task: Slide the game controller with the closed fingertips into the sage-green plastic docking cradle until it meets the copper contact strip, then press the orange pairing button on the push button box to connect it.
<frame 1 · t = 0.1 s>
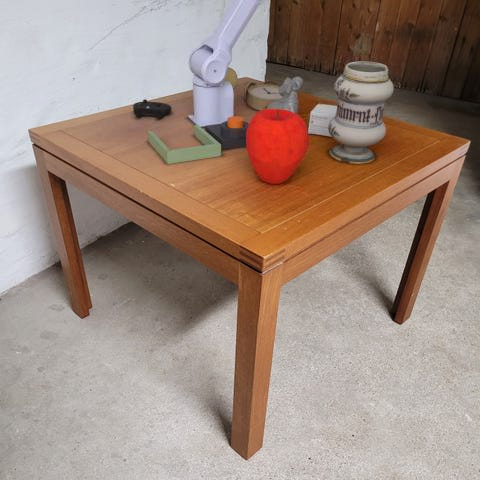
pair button: (235, 122, 113), point 4 cm above the table, slide at 0.1 cm
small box: (326, 132, 123), on the table
apothecary jar: (352, 156, 111), on the table
alarm clock: (265, 104, 139), on the table
game controller: (151, 116, 129), on the table
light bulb: (225, 108, 135), on the table
push button box: (231, 139, 117), on the table
figurine: (280, 124, 126), on the table
dock: (183, 148, 112), on the table
apple: (274, 180, 101), on the table
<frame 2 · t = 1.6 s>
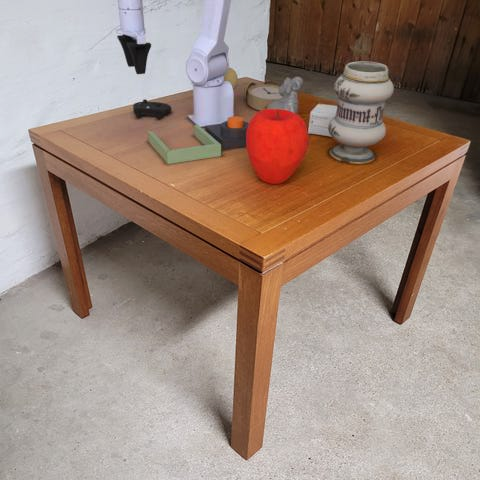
hand: (136, 70, 130), 9 cm above the table, tool pointing down, fingers open, 7 cm apart
nothing on the table moved.
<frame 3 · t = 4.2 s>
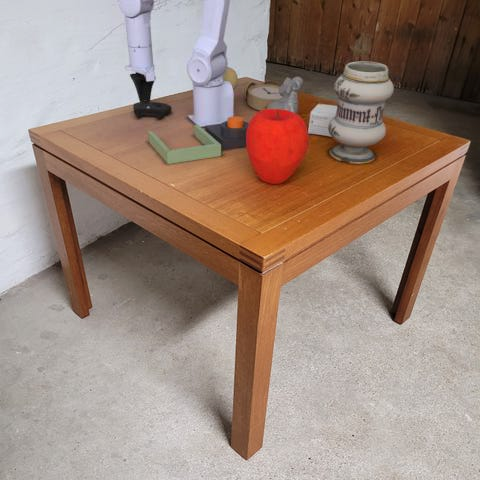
hand: (145, 104, 131), 1 cm above the table, tool pointing down, fingers closed
game controller: (151, 116, 129), on the table, touching gripper
everything else where it was.
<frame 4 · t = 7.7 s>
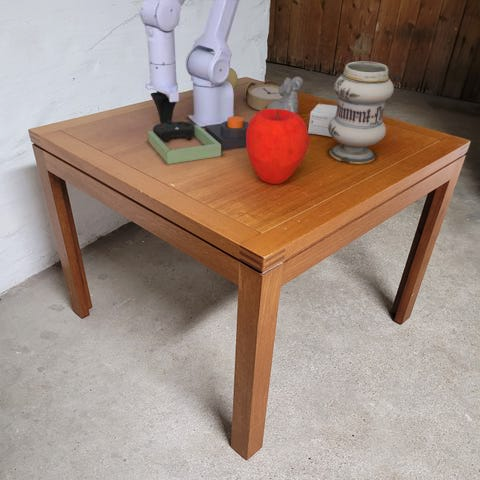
hand: (166, 125, 119), 1 cm above the table, tool pointing down, fingers closed, pressing on game controller
game controller: (175, 137, 118), on the table, touching dock, gripper
everything else where it was.
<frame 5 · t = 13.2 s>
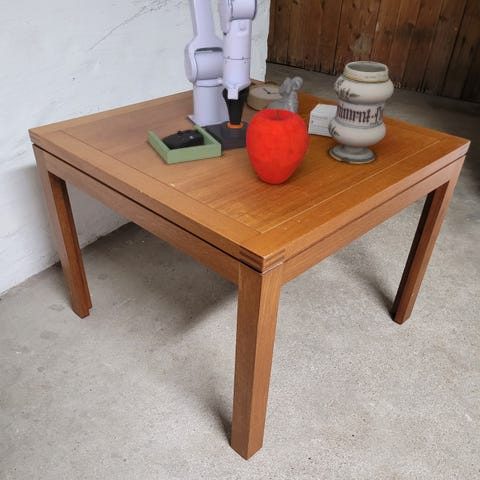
hand: (235, 124, 113), 4 cm above the table, tool pointing down, fingers closed, pressing on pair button
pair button: (235, 127, 113), point 3 cm above the table, slide at -1.0 cm, touching gripper
game controller: (184, 147, 113), on the table
everything else where it was.
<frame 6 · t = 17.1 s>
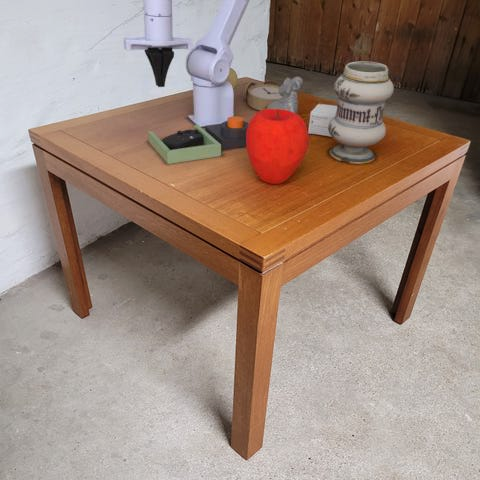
hand: (160, 85, 112), 10 cm above the table, tool pointing down, fingers closed
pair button: (235, 122, 113), point 4 cm above the table, slide at 0.1 cm
everything else where it was.
at the end: game controller 0.5 cm off-centre on the dock, point 0.0 cm above the dock's base; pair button pushed in 1.2 cm at the most during the clip, back to where it started at the end; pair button slide at 0.1 cm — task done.
